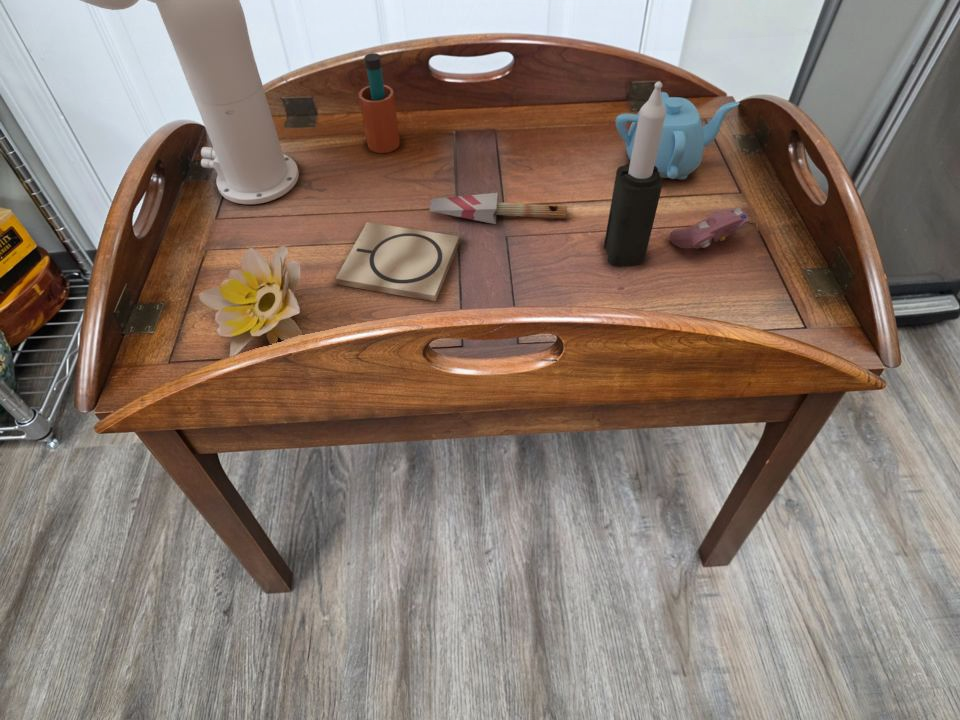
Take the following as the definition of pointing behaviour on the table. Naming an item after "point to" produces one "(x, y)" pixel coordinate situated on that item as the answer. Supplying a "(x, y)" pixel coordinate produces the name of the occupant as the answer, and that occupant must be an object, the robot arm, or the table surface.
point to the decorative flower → (256, 300)
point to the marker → (375, 76)
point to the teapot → (677, 135)
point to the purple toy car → (710, 229)
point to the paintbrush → (492, 208)
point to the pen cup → (380, 121)
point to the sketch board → (399, 261)
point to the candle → (637, 189)
